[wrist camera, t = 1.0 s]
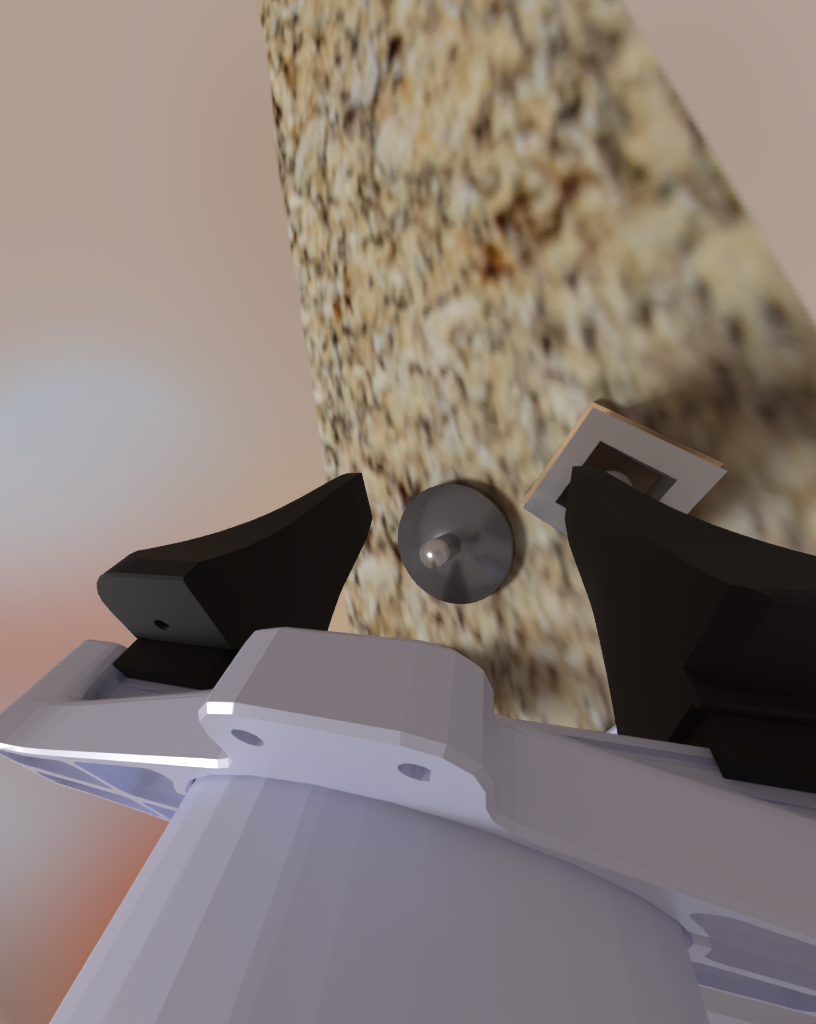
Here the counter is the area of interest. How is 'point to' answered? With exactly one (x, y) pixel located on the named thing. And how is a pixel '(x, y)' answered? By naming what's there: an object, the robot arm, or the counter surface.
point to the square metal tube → (678, 468)
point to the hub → (456, 543)
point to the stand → (619, 457)
